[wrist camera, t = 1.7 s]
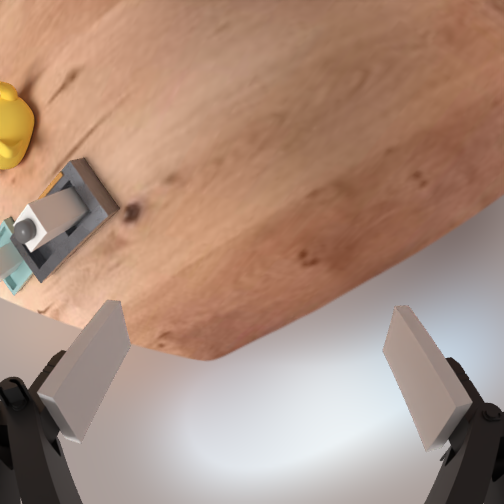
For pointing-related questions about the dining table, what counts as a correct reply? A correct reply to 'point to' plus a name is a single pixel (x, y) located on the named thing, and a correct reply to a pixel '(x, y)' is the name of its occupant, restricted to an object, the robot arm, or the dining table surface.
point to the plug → (9, 260)
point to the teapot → (13, 126)
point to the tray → (23, 272)
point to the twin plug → (49, 218)
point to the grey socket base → (69, 241)
